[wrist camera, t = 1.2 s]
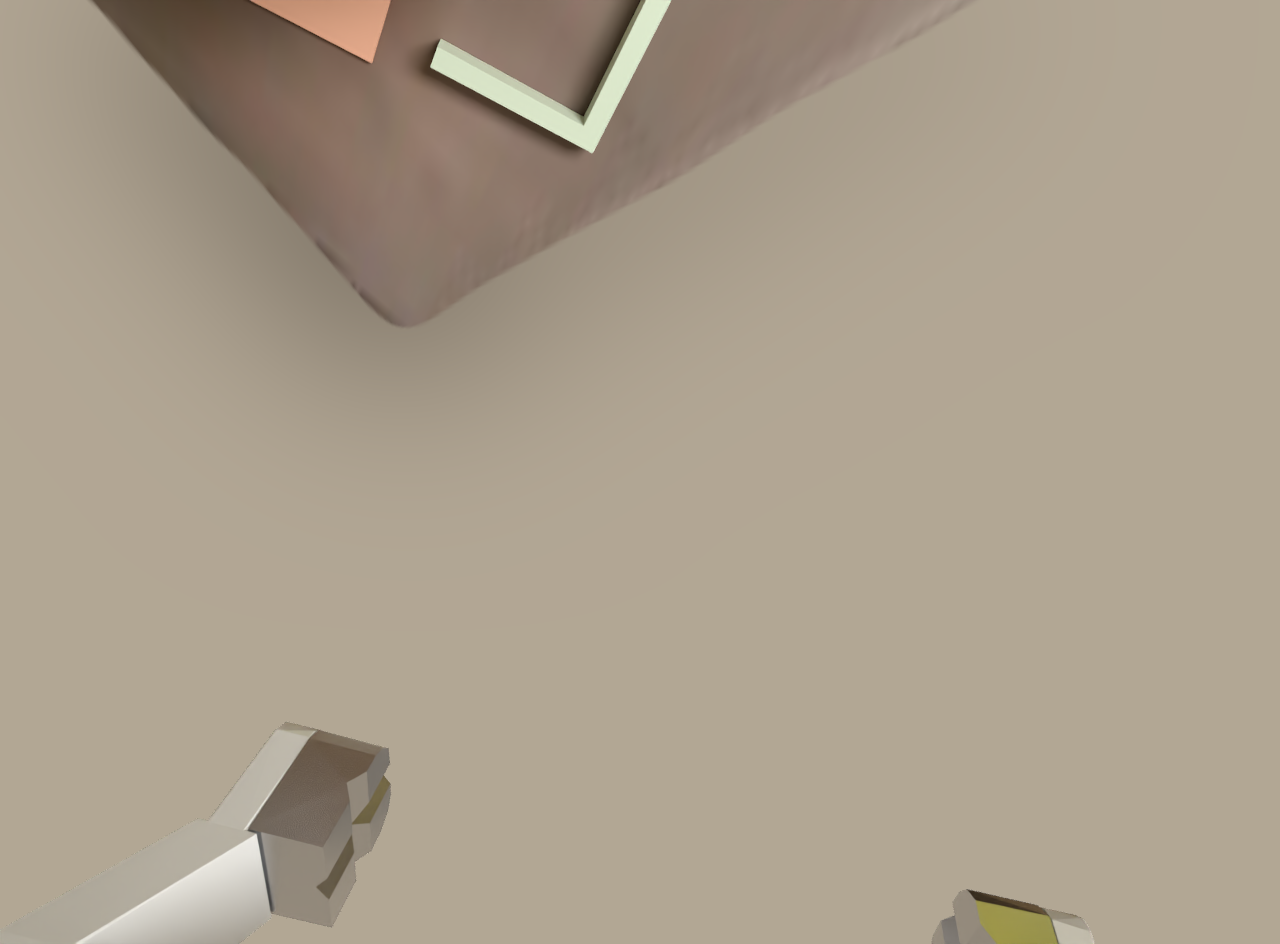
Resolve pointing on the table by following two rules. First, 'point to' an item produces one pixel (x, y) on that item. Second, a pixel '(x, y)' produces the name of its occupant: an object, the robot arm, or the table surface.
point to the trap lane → (354, 17)
